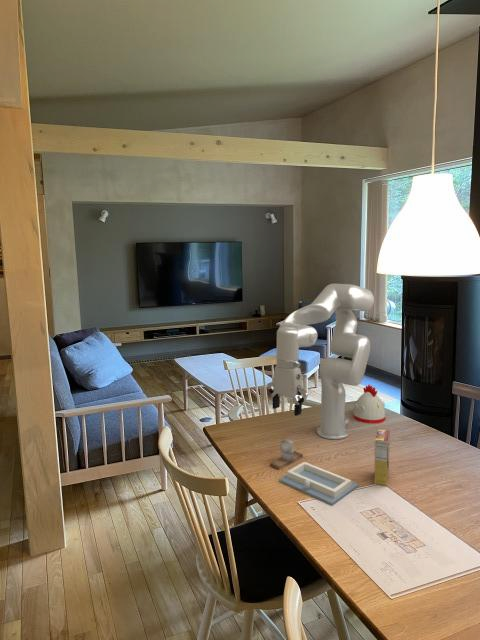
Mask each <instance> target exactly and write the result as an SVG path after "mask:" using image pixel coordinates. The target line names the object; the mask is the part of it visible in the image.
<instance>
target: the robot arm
mask: <svg viewBox="0 0 480 640" xmlns="http://www.w3.org/2000/svg"><path fill="white" fill-rule="evenodd" d="M374 303H375V297H374V294H373V292H372V291H371V290H370V289H367V288H364V287H362V286H358V285H356V284H351V283H344V284H343V283H330V284H328V285H326V286H325V287H324V288H323V290H322V291H321V292H320V293H319V294H318V295H317V297H316V298H315V299H314V300H313V301H312V302H311V303H310V304H308V305H305V306H303V307H301V308H298V309H297V310H295V311H292V312H291V313H290V314H289V315H288V316H287V317H285V319H284V320H283V321H282V322H281V324H280V325H279V327H278V329H277V330H276V365H275V367H274V371H273V379H272V381H270V382H268V383H266V385H267V388H268V392H269V393H270V397H271V398H272V409H273V410H275V409H278V408H280V405H281V402H280V401H281V400H280V399H281V398H280V396H283V397H287V398H290V399H293V401H294V402H295V404H294V409H293V410H294V414H293V415H294V416H295V417H297V416H301V415H302V411H303V406H302V405H303V403H304V402H306V400H307V398H308V396H309V393H308V392H307V390H306V389H304V385H303V375H302V370H301V368H300V367H301V365H302V364H301V362H299V351H300V349H299V348H307V347H308V348H310V347H312V346H313V345H315V343H317V340H318V332H317V329H316V328H315V327H313V326H311V325H315V324H319V323H323V322H326V321H328V320H329V319H330V318H331V316H332V315H333V314H334V313H335V315H336V323H335V325H334V330H333V333H332V336H331V340H330V344H329V350H330V352H331V353H332V354H333V355H335V356H340V357H345V358H351V360H349V359H344V358H339V357H334V356H331V357H329V356H328V357H324V358H323V359H322V360H321V361H320V363H319V366H318V367H319V368H318V370H319V371H318V372H319V377H320V383H321V386H320V387H321V388H320V389H321V395H320V398H321V400H320V402H321V403H320V406H321V408H320V426H319V427H318V428H317V429H316V434H317V435H318V436H319V437H321V438H324V439H328V440H343V439H345V438H347V437H348V436H349V430H348V429H347V428H346V427H347V425H348V424H350V419H349V418H346V389H345V386H344V385H346V386H354V387H356V386H359V385H360V384H361V383H362V381H363V379H364V376H365V372H366V368H367V365H368V361H369V357H370V354H371V341H370V339H369V337H367V336H366V335H363V334H357V333H356V332H357V329H358V320H357V317H356V315H355V314H354V312H353V311H359V312H368V311H370V310H371V309H372V308H373V306H374Z"/></svg>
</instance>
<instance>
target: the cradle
mask: <svg viewBox="0 0 480 640" xmlns="http://www.w3.org/2000/svg"><path fill="white" fill-rule="evenodd" d="M278 482H280V483H282V484H284V485H286V486H289V487H290V488H292V489H295V490H297V491H299V492H301V493H304V494H306V495H308V496H309V497H312V498H315V499H317V500H319V501H321V502H324V503H326V504H327V505H330V506H335V504H337V503H338V502H340V501H341V500H342V499H344V498H345V497H346V496H348V495H349V494H350V493H352V492H353V491H354V490H356V489H358V488H359V486H360V484H359V483H356V482H355V481H352V480H351V479H349V478H346V477H343V476H341V475H339V474H336V473H333V472H331V471H328V470H326V469H324V468H321V467H319V466H316V465H314V464H311V463H309V462H306V461H303V462H301V463H299V464H297V465H296V466H294V467H292V468H291V469H288V470H287V471H286V475H284V476H282V477H280V478H278Z"/></svg>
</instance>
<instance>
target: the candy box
mask: <svg viewBox="0 0 480 640" xmlns="http://www.w3.org/2000/svg"><path fill="white" fill-rule="evenodd" d="M390 433H391V432H390V430H386V429H385V430H384V429H377V431H376V435H375V439H374V479H373V480H374V485H378V486H386V487H387V486H388V482H389V474H390Z"/></svg>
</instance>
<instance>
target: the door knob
mask: <svg viewBox="0 0 480 640" xmlns="http://www.w3.org/2000/svg"><path fill="white" fill-rule="evenodd" d="M303 458H304V454H303V453H300V452H298V451H295V450H294V441H292V440H290V439H283V440H281V441H280V457H279V458H277V459H275V460H272V461H271V462H270V465H269V466H270V467H272V468H274V469H276V470H278V471H280V470H283V468H286V467H287V466H290V465H291V464H293V463H295V462H298V461H299V460H302V459H303Z"/></svg>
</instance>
